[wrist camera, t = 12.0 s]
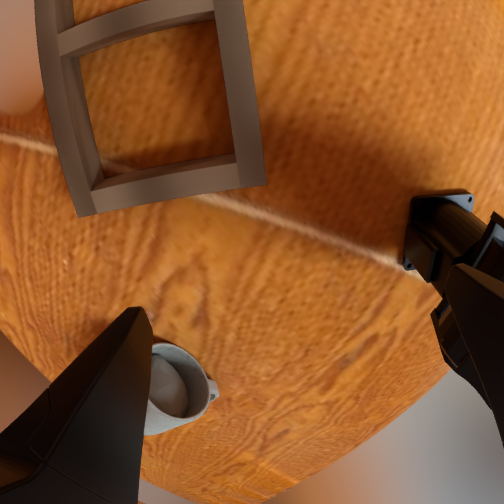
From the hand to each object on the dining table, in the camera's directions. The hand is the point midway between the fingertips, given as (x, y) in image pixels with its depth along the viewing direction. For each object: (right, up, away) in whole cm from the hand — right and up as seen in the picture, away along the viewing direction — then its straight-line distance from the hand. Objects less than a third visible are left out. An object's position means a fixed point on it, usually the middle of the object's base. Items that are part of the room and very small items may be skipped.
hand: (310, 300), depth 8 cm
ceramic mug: (-10, -11, +21) cm, 26 cm away
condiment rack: (-8, +15, +6) cm, 18 cm away
